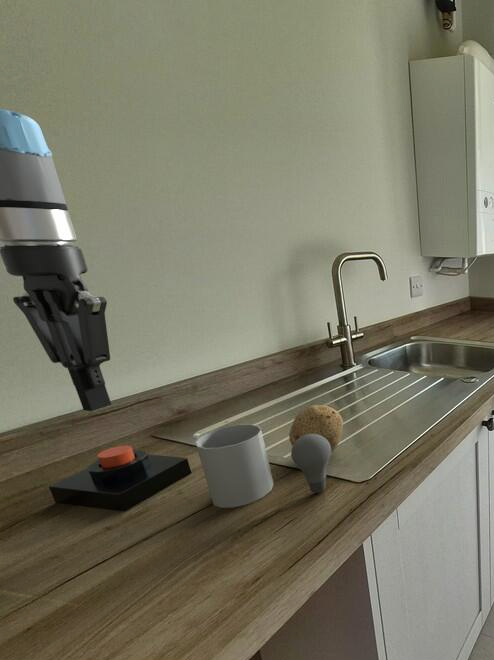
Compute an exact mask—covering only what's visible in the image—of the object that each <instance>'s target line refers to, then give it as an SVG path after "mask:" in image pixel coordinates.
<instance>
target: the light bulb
mask: <svg viewBox="0 0 494 660" xmlns="http://www.w3.org/2000/svg"><path fill="white" fill-rule="evenodd" d="M290 451H291V452H290V456H291V457H290V458H291V460H292V462H293V463H294V464H295V466H296V467H297V468H298V469H299V470H301V471H302V473H303V475H304V478H305V480H306V482H307V483H308V486H309V490H310V492H311V493H314V494H321V493H322V492H323V491H325V490H326V488H327V482H326V478H327V466H328V463H329V461H330V458H331V455H332V453H331V446H330V443H329V442H328V440H327V439H325V438H324V437H323V436H321V435H317V434H308V435H304V436H302V437H300V438H299V439H298V440H297V441H296V442H295V443H294V445H292V447H291V449H290Z"/></svg>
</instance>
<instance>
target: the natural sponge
mask: <svg viewBox="0 0 494 660" xmlns="http://www.w3.org/2000/svg"><path fill="white" fill-rule="evenodd" d="M343 426H344V421H343V418H342V416H341V414H340V413H339V412H338V411H337V410H335V409H334V408H332V407H330V406H328V405H321V404H314V405H309V406H307V407H305V408H303V409H302V410H301V411H299V412H298V413H297V415H296V416H295V417H294V420H293V422H292V425H291V427H290V430H289V433H288V434H289V435H288V438H289V442H290V444H291V446H293V445H294V443H295V442H296V441H297V440H298V439H299V438H300V437H302V436H304V435H308V434H317V435H321V436H323V437H324V438H325V439H327V440H328V442H329V443H330V446H331V454H332V453H333V452H334V451H335V450H336V448H337V447H338V446H339V444H340V441H341V439H342V435H343V428H344V427H343Z"/></svg>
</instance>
